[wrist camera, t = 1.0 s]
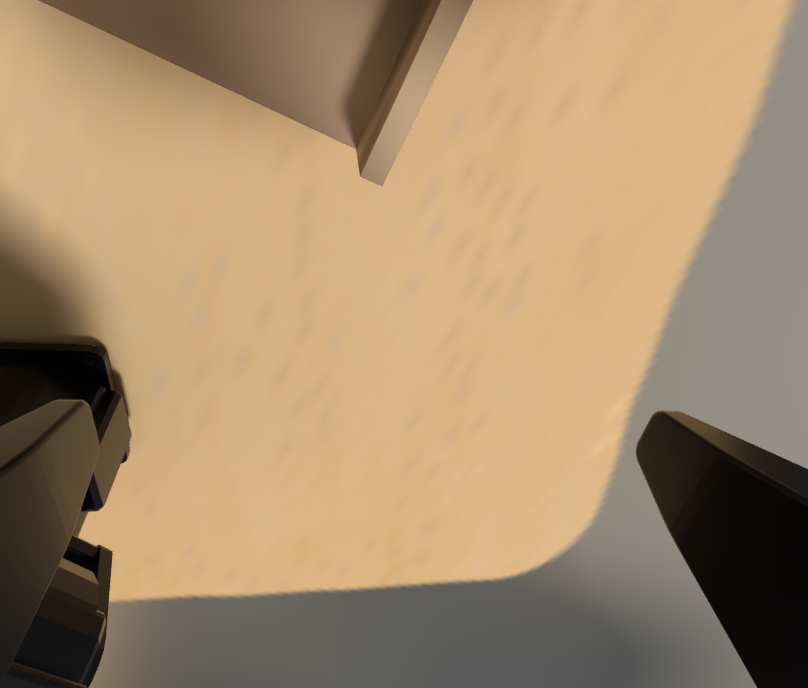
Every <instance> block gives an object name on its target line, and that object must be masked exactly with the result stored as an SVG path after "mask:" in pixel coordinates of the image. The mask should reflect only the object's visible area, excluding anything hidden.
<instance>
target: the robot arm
mask: <svg viewBox="0 0 808 688" xmlns="http://www.w3.org/2000/svg"><path fill="white" fill-rule="evenodd" d="M88 356H91V357H94V358H96V359H97V360H92V359H90V358H89V357H88ZM130 438H131V431H130V426H129V422H128V417H127V413H126V409H125V404H124V400H123V396H122V395H121V393H120V392H119V391H116V389H115V385H114V380H113V376H112V372H111V368H110V363H109V359H108V355H107V353H106V352H105V351H104V350H103V349H102V348H100V347H98V346H93V345H65V344H32V343H0V688H88V687H89V686H90V684H91V682H92V680H93V677H94V675H95V673H96V671H97V668H98V666H99V663H100V660H101V657H102V654H103V651H104V645H105V639H106V629H107V615H108V603H109V590H110V578H111V565H112V551H111V550H109V549H107V548H105V547H103V546H101V545H98V546H95V545H93V544H91V543H89V542H87V541H84V540H82V539H80V538H78V535H79V533H80V531H81V528H82V526H83V523H84V521H85V518H86V516H87V514H88V511H99V510H100V509H101V508H102V507H103V506H104V505H105V503H106V500H107V497H108V495H109V492H110V490H111V487H112V485H113V482H114V479H115V477H116V474H117V472H118V469H119V467H120V464H121V463H124V462H125V461H126V460H127V458H128V456H129V453H130V449H129V441H130ZM636 456H637V460H638V463H639V465H640V467H641V470H642V472H643V474H644V476H645V479H646V481H647V483H648V486H649V488H650V490H651V492H652V495H653V497H654V499H655V502H656V504H657V506H658V508H659V511H660V513H661V515H662V518H663V520H664V522H665V524H666V526H667V528H668V530H669V532H670V534H671V536H672V538H673V540H674V542H675V543H676V545H677V547H678V549H679V551H680V552H681V554H682V556H683V557H684V559H685V561H686V563H687V564H688V566H689V568H690V570H691V572H692V573H693V575H694V577H695V579H696V581H697V582H698V584H699V586H700V588H701V589H702V591H703V593H704V595H705V596H706V598H707V600H708V601H709V603H710V605H711V607H712V609H713V611H714V612H715V614H716V616H717V618H718V619H719V621H720V623H721V625H722V626H723V628H724V630H725V632H726V634H727V635H728V637H729V639H730V640H731V642H732V644H733V646H734V648H735V649H736V651H737V653H738V655H739V656H740V658H741V660H742V662H743V663H744V665H745V667H746V669H747V671H748V672H749V674H750V676H751V677H752V679H753V681H754V683H755V684H756V686H757V688H808V469H806V468H804V467H802V466H800V465H798V464H795V463H793V462H791V461H788V460H786V459H784V458H782V457H780V456H778V455H775V454H773V453H771V452H769V451H766V450H764V449H762V448H759V447H758V446H755V445H753V444H751V443H749V442H746V441H744V440H742V439H739V438H738V437H735V436H733V435H731V434H729V433H727V432H724V431H722V430H720V429H718V428H715V427H713V426H711V425H709V424H707V423H704V422H702V421H700V420H698V419H695V418H693V417H691V416H689V415H686V414H684V413H682V412H679V411H657V412H655V413H654V414H653V415H652V417H651V418H650V420H649V422H648V424H647V426H646V428H645V430H644V432H643V433H642V436H641V437H640V439H639V441H638V443H637V447H636Z"/></svg>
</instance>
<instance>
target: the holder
mask: <svg viewBox="0 0 808 688" xmlns="http://www.w3.org/2000/svg"><path fill="white" fill-rule="evenodd" d="M39 1H42V2H44V3H46V4H48V5H50V6H52V7H54V8H56V9H59V10H61V11H63V12H65V13H67V14H69V15H71V16H74V17H76V18H78V19H80V20H82V21H84V22H86V23H88V24H91V25H93V26H95V27H97V28H99V29H101V30H103V31H105V32H108V33H110V34H112V35H114V36H116V37H118V38H120V39H122V40H125V41H127V42H129V43H131V44H133V45H135V46H137V47H140V48H142V49H144V50H146V51H148V52H150V53H152V54H154V55H157V56H159V57H161V58H163V59H165V60H167V61H169V62H171V63H174V64H176V65H178V66H180V67H182V68H184V69H186V70H188V71H191V72H193V73H195V74H197V75H199V76H201V77H203V78H206V79H208V80H210V81H212V82H214V83H216V84H218V85H220V86H223V87H225V88H227V89H229V90H231V91H233V92H235V93H237V94H240V95H242V96H244V97H246V98H248V99H250V100H252V101H254V102H257V103H259V104H261V105H263V106H265V107H267V108H269V109H272V110H274V111H276V112H278V113H280V114H282V115H284V116H286V117H289V118H291V119H293V120H295V121H297V122H299V123H301V124H303V125H306V126H308V127H310V128H312V129H314V130H316V131H318V132H320V133H323V134H325V135H327V136H329V137H331V138H333V139H335V140H338V141H340V142H342V143H344V144H346V145H348V146H350V147H352V148H355V149H356V150H357V157H358V165H359V172H360V177H363V178H365V179H367V180H369V181H371V182H374V183H376V184H378V185H380V186H383V184H384V182H385V180H386V178H387V176H388V174H389V172H390V169H391V167H392V165H393V163H394V161H395V159H396V157H397V155H398V153H399V151H400V149H401V147H402V145H403V143H404V141H405V139H406V137H407V135H408V133H409V131H410V129H411V127H412V124H413V122H414V120H415V118H416V116H417V114H418V112H419V110H420V108H421V106H422V104H423V102H424V100H425V98H426V96H427V94H428V92H429V90H430V88H431V86H432V84H433V81H434V79H435V77H436V75H437V73H438V71H439V69H440V67H441V65H442V63H443V61H444V59H445V57H446V55H447V53H448V51H449V49H450V47H451V45H452V43H453V41H454V39H455V36H456V34H457V32H458V30H459V28H460V26H461V24H462V22H463V20H464V18H465V16H466V14H467V12H468V10H469V8H470V6H471V4H472V2H473V0H39Z"/></svg>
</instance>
